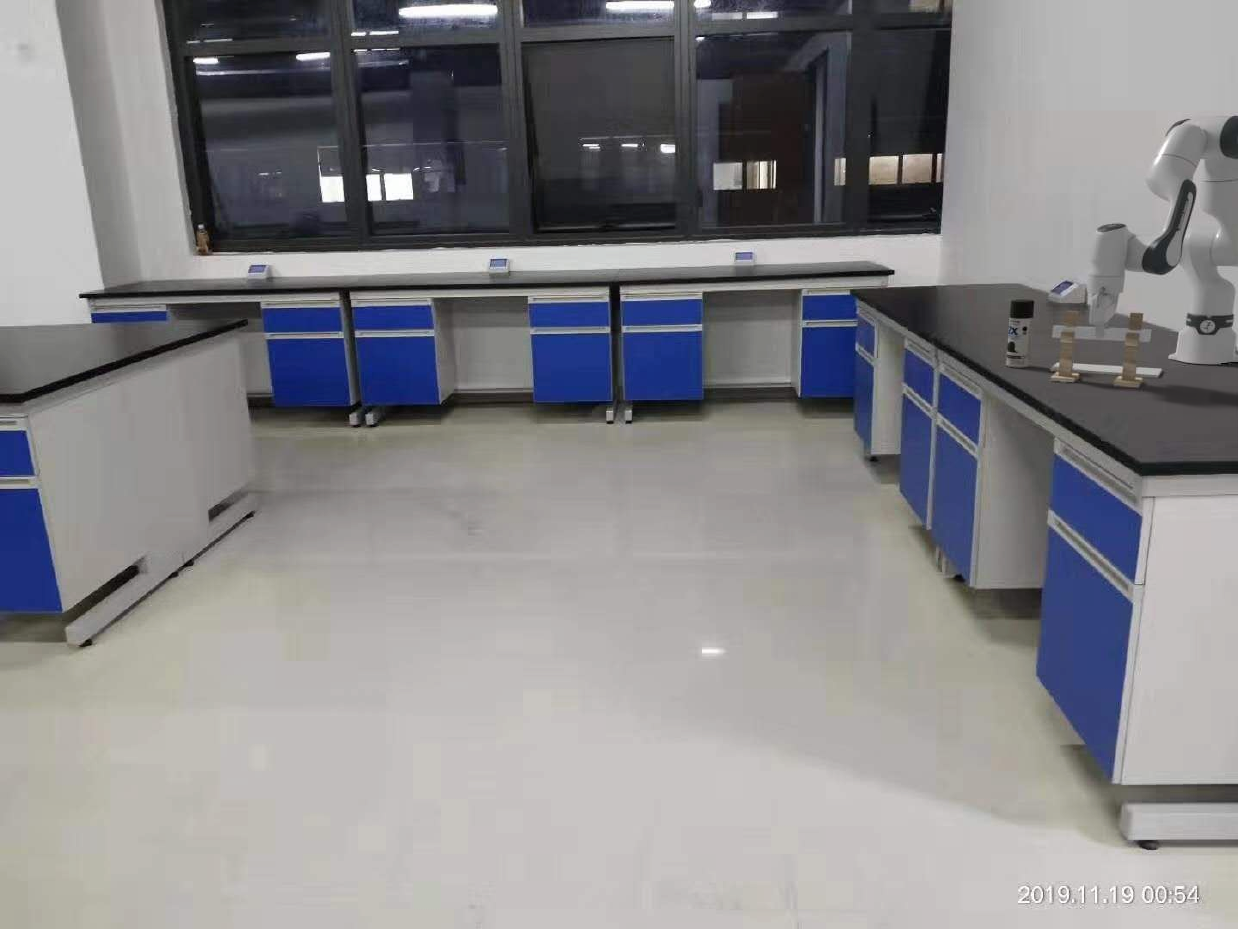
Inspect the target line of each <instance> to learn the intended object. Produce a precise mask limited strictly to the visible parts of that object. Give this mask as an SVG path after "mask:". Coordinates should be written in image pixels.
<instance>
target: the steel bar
mask: <svg viewBox="0 0 1238 929" xmlns="http://www.w3.org/2000/svg"><path fill="white" fill-rule="evenodd" d="M1061 331H1071V332H1074V334H1073V339H1076V340H1077V339H1079V340H1094V341H1096V340H1098V341H1118V342H1119V341H1120V342H1121V341H1122V342H1125V336H1126V334H1139V337H1138V342H1140V343H1141V342H1142V343H1150V341H1151V336H1152V329H1151V328H1142V329H1134V328H1129V327H1128V328H1126V327H1108V326H1107V327H1104V329H1103V331H1104V333H1103V337H1102V338H1095V326H1082V325H1081V326H1079V325H1077V326H1065V325H1057V324H1055V325H1053V326H1052V336H1051V337H1052V338H1053V339H1055V338H1057V339H1061Z"/></svg>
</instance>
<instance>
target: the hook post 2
mask: <svg viewBox="0 0 1238 929" xmlns="http://www.w3.org/2000/svg"><path fill="white" fill-rule="evenodd" d="M1143 318H1144V312H1130V313H1129V324H1128V328H1134V329H1143V321H1144V319H1143ZM1138 337H1139V334H1126V336H1125V341H1124V354H1123V361H1122V362H1123V364H1122V366H1123V371H1122V376H1119V375H1117V377H1116V378H1115V379H1114V381H1113V386H1114V387H1124V388H1139V387H1140V386H1141V384H1142V383H1143V379H1144V377H1136V369H1137V367H1138V360H1139V359H1138V358H1139V349H1140V343H1141V342H1138Z"/></svg>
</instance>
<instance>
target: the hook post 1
mask: <svg viewBox="0 0 1238 929" xmlns="http://www.w3.org/2000/svg"><path fill="white" fill-rule="evenodd" d="M1079 312H1080V311H1079V310H1066V312H1065V322H1064V326H1078V324H1079ZM1073 334H1074V332H1071V331H1061V338H1060V340H1059V342H1060V354H1059V372H1058V371H1055V373H1054V374H1053V375H1052V376H1050V382H1052V381H1060V382H1059V383H1066V382H1074V381H1075V380H1076V381H1077V380H1078V379H1079V378H1080V373H1074V372H1072V369H1073V363H1074V359H1075V358H1074V356H1075V344H1076V340H1077V339H1073ZM1076 381H1075V382H1076ZM1075 382H1074V383H1075Z"/></svg>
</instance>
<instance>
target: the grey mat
mask: <svg viewBox="0 0 1238 929" xmlns="http://www.w3.org/2000/svg"><path fill="white" fill-rule="evenodd" d="M1059 363H1060V361H1059V362H1056V363H1055V364H1054V365H1052V366H1051V367H1050V368H1049V371H1050V372H1059ZM1122 371H1123V365H1122V366H1120V365H1105V364H1090V363H1089V364H1088V363H1076V362H1075V363H1074V362H1073V369H1072V373H1079V374H1090V375H1093V374H1094V375H1104V374H1106V375H1107V376H1122ZM1162 372H1163V368H1157V367H1156V368H1154V367H1138V366H1137V369H1136V377H1140V378H1151V379H1152V378H1153V379H1158V378H1159V377H1160V375H1161V373H1162Z"/></svg>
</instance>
